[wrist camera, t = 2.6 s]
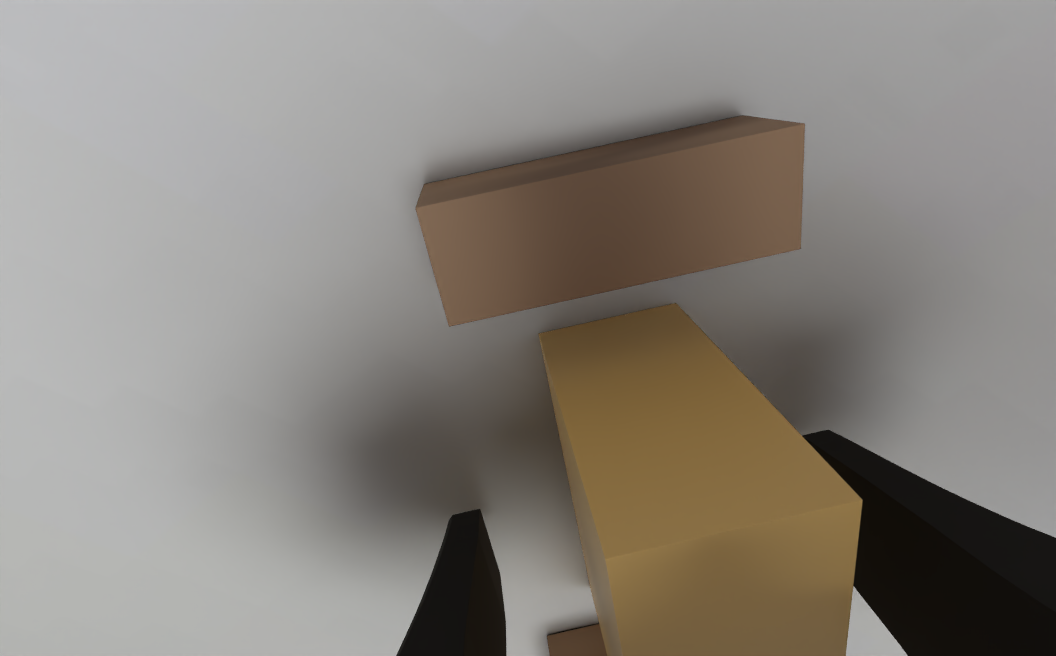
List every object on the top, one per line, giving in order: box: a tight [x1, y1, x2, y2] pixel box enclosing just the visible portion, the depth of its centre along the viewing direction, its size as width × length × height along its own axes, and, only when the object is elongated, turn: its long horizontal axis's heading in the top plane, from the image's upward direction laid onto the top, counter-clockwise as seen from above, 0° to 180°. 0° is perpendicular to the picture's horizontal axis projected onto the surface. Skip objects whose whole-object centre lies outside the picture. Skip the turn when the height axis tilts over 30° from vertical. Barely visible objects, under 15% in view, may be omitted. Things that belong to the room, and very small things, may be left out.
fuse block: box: [538, 303, 863, 656], centre depth 11 cm, size 3×8×6 cm, turn 11°
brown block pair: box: [416, 115, 805, 656], centre depth 12 cm, size 6×15×2 cm, turn 11°
